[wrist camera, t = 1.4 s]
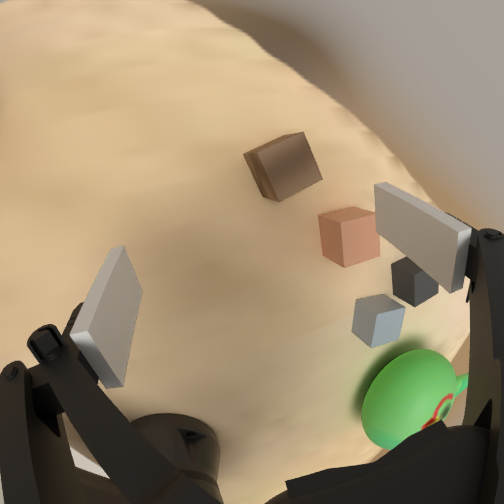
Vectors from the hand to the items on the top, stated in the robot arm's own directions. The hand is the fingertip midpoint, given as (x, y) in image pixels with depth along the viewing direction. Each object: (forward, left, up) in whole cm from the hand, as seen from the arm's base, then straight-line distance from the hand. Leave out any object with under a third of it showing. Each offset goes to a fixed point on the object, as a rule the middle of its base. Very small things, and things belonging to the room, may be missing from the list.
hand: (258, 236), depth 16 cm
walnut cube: (+2, -8, -18) cm, 20 cm away
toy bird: (-36, -24, -18) cm, 47 cm away
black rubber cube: (-16, -26, -18) cm, 35 cm away
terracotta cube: (-7, -15, -18) cm, 24 cm away
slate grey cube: (-20, -19, -18) cm, 33 cm away
